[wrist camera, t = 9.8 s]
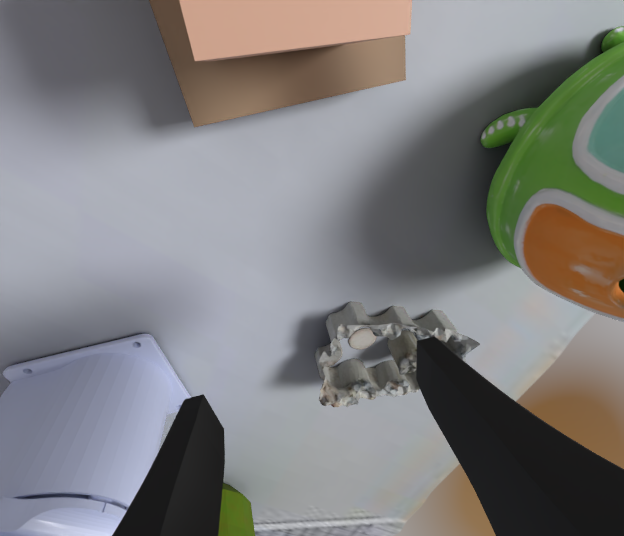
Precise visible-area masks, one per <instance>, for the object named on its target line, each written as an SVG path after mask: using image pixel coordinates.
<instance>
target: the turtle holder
mask: <svg viewBox="0 0 624 536" xmlns="http://www.w3.org/2000/svg"><path fill="white" fill-rule="evenodd" d="M601 49H602V51H603V53H602V54H601V55H599V56H597V57H595V58H594V59H592V60H591V61H590V62H588V63H587V64H585V65H584V66H582V67H581V68H580V69H579V70H577V71H576V72H575V73H574V74H572V75H571V76H570V77H569V78H568V79H566V80H565V81H564V82H563V83H562V84H561V85H560V86H559V87H558V88H557V89H556V90H555V91H554V92H553V93H552V94H551V95H550V96H549V97H548V98H547V99H546V100H545V101H544V102H543V103H542V104H541V105H540V106H539V107H538V108H525V109H521V110H516V111H513V112H510V113H507V114H504V115H502V116H501V117H499V118H497V119H496V120H495V121H493V122H492V123H491V124H490V125H488V126H487V127H486V129H485V130H484V131H483V133H482V135H481V143H482V145H483V147H485V148H494V147H499V146H502V145H505V144H508V143H511V142H512V144H511V145H510V147H509V149H508V151H507V152H506V154H505V156H504V158H503V160H502V161H501V163H500V165H499V167H498V169H497V170H496V172H495V174H494V177H493V179H492V182H491V185H490V189H489V193H488V198H487V208H486V215H487V220H488V224H489V228H490V232H491V235H492V238H493V240H494V242H495V245H496V246H497V248H498V250H499V251H500V253H501V254H502V255H503V256H504V257H505V258H506V259H507V260H508V261H509V262H510V263H512V264H514V265H515V266H517V267H520V268H522V270H523V271H524V273H525V274H526V275H527V276H528V277H529V278H530V279H531V280H532V281H533V282H534V283H535V284H537V285H538V286H540V287H542V288H543V289H545V290H547V291H548V292H550V293H552V294H554V295H556V296H558V297H560V298H562V299H565V300H567V301H569V302H571V303H573V304H575V305H577V306H580V307H582V308H584V309H587V310H589V311H592V312H594V313H597V314H600V315H603V316H606V317H609V318H612V319H615V320H619V321H622V322H624V26H621V27H617V28H615V29H613V30H612V31H610V32H609V33H608V34H607V35H606V37H605V38H604V39H603V42H602V47H601Z"/></svg>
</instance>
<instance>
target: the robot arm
mask: <svg viewBox="0 0 624 536" xmlns="http://www.w3.org/2000/svg"><path fill="white" fill-rule="evenodd" d="M135 342H139V343H135ZM3 375H4V377H5V378H6V379H7V380H8V381H10V382H11V383H10V384H9V386H8V387H7V388H6V390H5V391H4V392H3V394H2V395H1V397H0V536H218V533H219V522H220V511H221V500H222V488H223V477H224V464H225V451H224V428H223V427H222V425H221V423H220V422H219V420H218V418H217V416H216V415H215V413H214V411H213V410H212V408H211V406H210V405H209V403H208V401H207V399H206V398H205V396H204V395H200V396H196V397H192V398H191V397H190V395H189V393H188V392H187V390H186V389H185V387H184V385H183V384H182V382H181V381H180V379H179V378H178V376H177V374H176V373H175V371H174V370H173V368H172V366H171V365H170V363H169V362H168V360H167V358H166V357H165V355H164V354H163V352H162V351H161V349H160V347H159V346H158V344H157V343H156V341H155V339H154V338H153V337H152V336H151V335H149V334H140V335H136V336H131V337H127V338H123V339H119V340H115V341H111V342H107V343H102V344H98V345H94V346H90V347H86V348H82V349H78V350H73V351H69V352H65V353H61V354H57V355H53V356H49V357H44V358H40V359H36V360H32V361H28V362H24V363H20V364H15V365H11V366H8V367H7V368H6V369H5V370H4V372H3ZM416 380H417V382H418V385H419V387H420V389H421V392H422V394H423V396H424V399H425V401H426V403H427V405H428V408H429V410H430V411H431V413H432V415H433V417H434V419H435V420H436V422H437V424H438V426H439V427H440V429H441V431H442V433H443V434H444V436H445V438H446V440H447V441H448V443H449V445H450V447H451V448H452V450H453V452H454V454H455V455H456V457H457V459H458V461H459V462H460V464H461V466H462V468H463V469H464V471H465V473H466V475H467V476H468V478H469V480H470V482H471V484H472V486H473V488H474V490H475V492H476V494H477V496H478V498H479V500H480V502H481V504H482V506H483V509H484V511H485V513H486V515H487V517H488V519H489V521H490V523H491V526H492V528H493V530H494V532H495V534H496V536H624V469H622V468H620V467H618V466H617V465H615V464H613V463H611V462H609V461H608V460H606V459H604V458H602V457H601V456H599V455H597V454H595V453H594V452H592V451H590V450H589V449H587V448H585V447H584V446H582V445H580V444H578V443H577V442H576V441H574V440H572V439H571V438H569V437H567V436H566V435H564V434H562V433H561V432H560V431H558V430H556V429H555V428H553V427H552V426H550V425H548V424H547V423H546V422H544V421H543V420H541V419H540V418H538V417H537V416H535V415H534V414H532V413H531V412H529V411H528V410H527V409H525V408H524V407H522V406H521V405H520V404H518V403H517V402H515V401H514V400H513V399H511V398H510V397H509V396H507V395H506V394H505V393H503V392H502V391H501V390H499V389H498V388H497V387H495V386H494V385H493V384H492V383H490V382H489V381H488V380H486V379H485V378H484V377H483V376H481V375H480V374H479V373H478V372H476V371H475V370H474V369H473V368H471V367H470V366H469V365H468V364H467V363H465V362H464V361H463V360H462V359H461V358H459V357H458V356H457V355H456V354H455V353H454V352H452V351H451V350H450V349H449V348H448V347H447V346H446V345H444V344H443V343H442V342H441V341H440V340H439V339H438V338H436V337H435V336H434V337H430V338H426V339H422V340H418V341H417V362H416ZM178 411H179V412H178ZM174 412H178V414H177V416H176V418H175V420H174V422H173V424H172V426H171V428H170V430H169V432H168V434H167V436H166V439H165V441H164V443H163V445H162V447H161V449H160V451H159V447H160V442H161V438H162V433H163V429H164V425H165V420H166V416H167V414H170V413H174ZM158 451H159V452H158Z"/></svg>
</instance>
